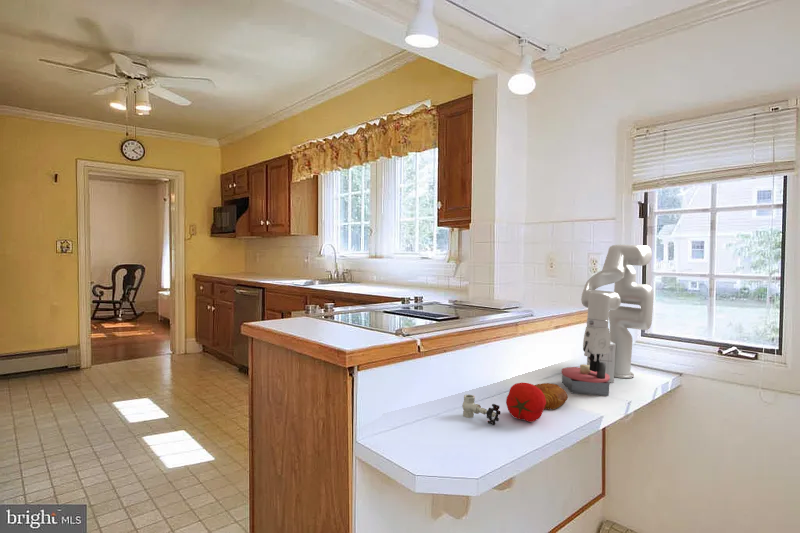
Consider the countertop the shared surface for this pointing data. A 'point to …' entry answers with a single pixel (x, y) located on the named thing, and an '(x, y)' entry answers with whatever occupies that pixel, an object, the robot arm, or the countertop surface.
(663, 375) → the countertop surface
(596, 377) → the handwheel
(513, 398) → the tomato
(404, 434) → the countertop surface
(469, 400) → the valve
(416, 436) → the countertop surface
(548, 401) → the croissant
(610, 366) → the supplement box
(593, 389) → the housing
